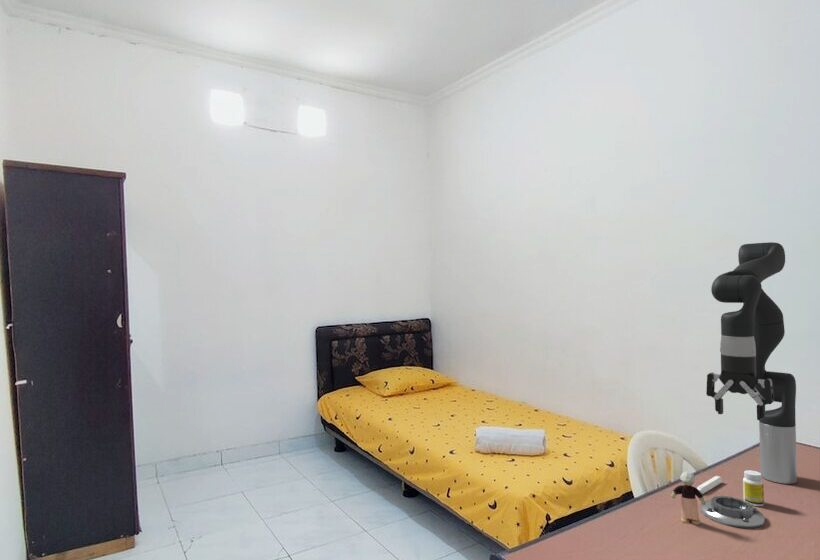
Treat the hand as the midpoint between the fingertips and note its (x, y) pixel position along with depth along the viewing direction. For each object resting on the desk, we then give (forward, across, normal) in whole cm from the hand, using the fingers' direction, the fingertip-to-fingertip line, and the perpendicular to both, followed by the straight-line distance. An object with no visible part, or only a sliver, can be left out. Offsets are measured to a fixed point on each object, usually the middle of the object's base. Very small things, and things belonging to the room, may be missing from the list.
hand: (739, 416), depth 126 cm
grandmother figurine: (+27, +10, +9) cm, 30 cm away
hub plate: (+27, +3, -3) cm, 28 cm away
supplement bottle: (+28, +1, -16) cm, 32 cm away
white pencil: (+28, +13, -18) cm, 36 cm away
